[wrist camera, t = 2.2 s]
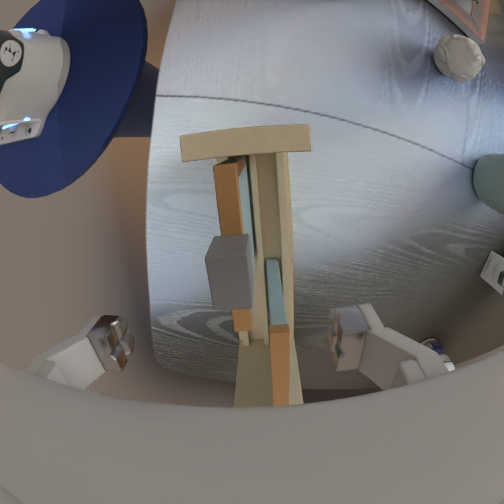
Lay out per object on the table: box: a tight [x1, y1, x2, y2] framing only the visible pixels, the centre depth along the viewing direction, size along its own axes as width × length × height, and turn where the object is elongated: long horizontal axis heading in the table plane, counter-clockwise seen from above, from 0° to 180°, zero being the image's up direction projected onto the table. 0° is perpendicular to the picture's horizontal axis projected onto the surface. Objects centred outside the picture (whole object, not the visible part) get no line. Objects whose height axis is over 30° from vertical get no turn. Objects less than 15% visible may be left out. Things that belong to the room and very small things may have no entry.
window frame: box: [180, 124, 312, 407], centre depth 24 cm, size 7×26×14 cm, turn 5°
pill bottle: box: [420, 338, 455, 372], centre depth 33 cm, size 5×5×10 cm
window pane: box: [205, 155, 255, 332], centre depth 20 cm, size 2×11×16 cm, turn 5°
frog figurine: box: [434, 34, 485, 82], centre depth 17 cm, size 6×7×7 cm
